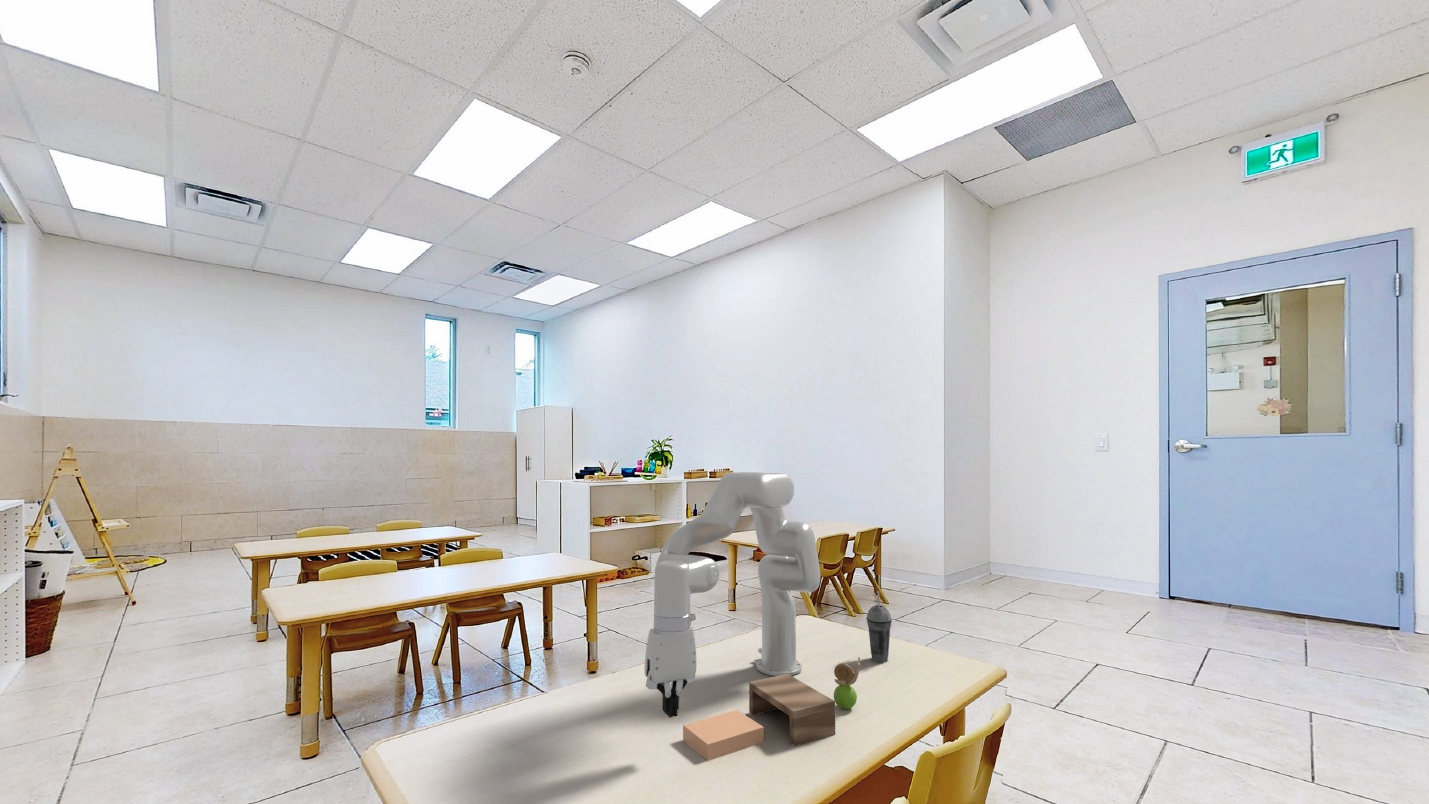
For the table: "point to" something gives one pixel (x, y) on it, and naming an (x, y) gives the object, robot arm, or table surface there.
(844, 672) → the snail figurine
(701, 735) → the peach tile
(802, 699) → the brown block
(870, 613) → the beverage cup
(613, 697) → the table surface
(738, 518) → the robot arm
